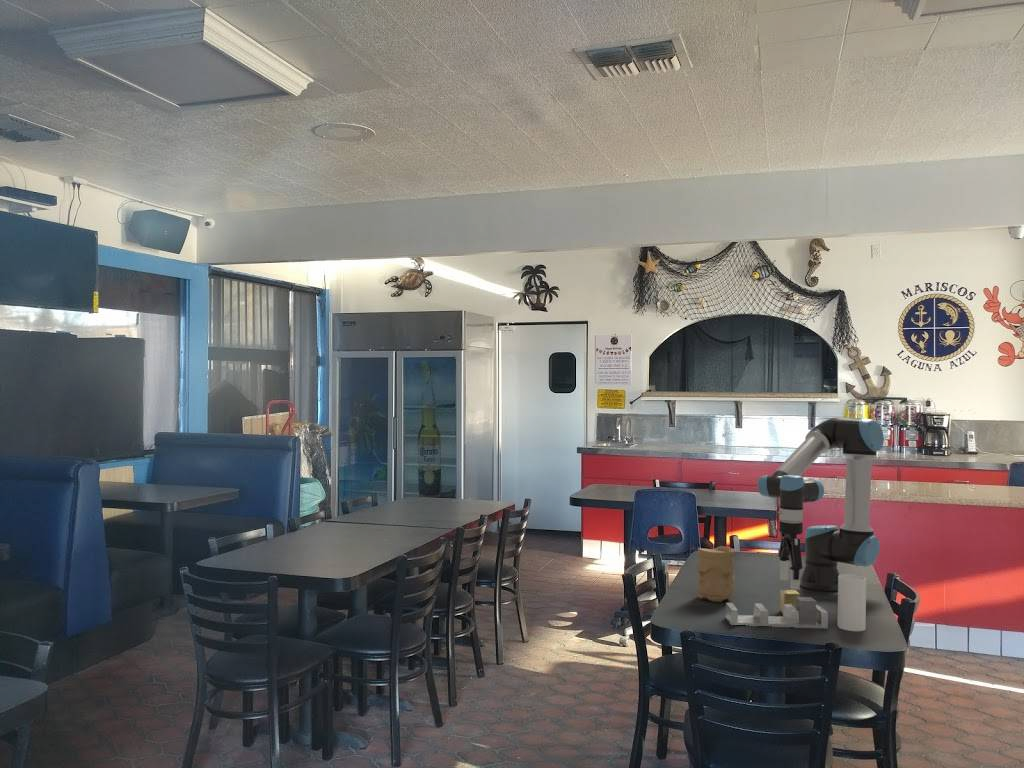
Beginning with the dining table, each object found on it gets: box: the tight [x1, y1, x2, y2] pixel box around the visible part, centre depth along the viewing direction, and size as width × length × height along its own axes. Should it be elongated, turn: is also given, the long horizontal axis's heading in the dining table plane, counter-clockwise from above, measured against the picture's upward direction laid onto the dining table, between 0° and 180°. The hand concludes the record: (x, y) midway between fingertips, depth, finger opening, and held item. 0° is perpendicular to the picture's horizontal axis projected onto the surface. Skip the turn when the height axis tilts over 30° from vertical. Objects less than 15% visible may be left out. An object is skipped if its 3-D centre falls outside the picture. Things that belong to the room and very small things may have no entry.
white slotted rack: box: [725, 596, 829, 630], centre depth 272 cm, size 30×9×8 cm, turn 87°
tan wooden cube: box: [779, 589, 801, 614], centre depth 285 cm, size 5×5×7 cm
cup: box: [837, 573, 867, 632], centre depth 268 cm, size 8×8×16 cm
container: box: [697, 545, 735, 603], centre depth 301 cm, size 13×13×18 cm
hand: (789, 584), depth 285 cm, fingers open, 13 cm apart
